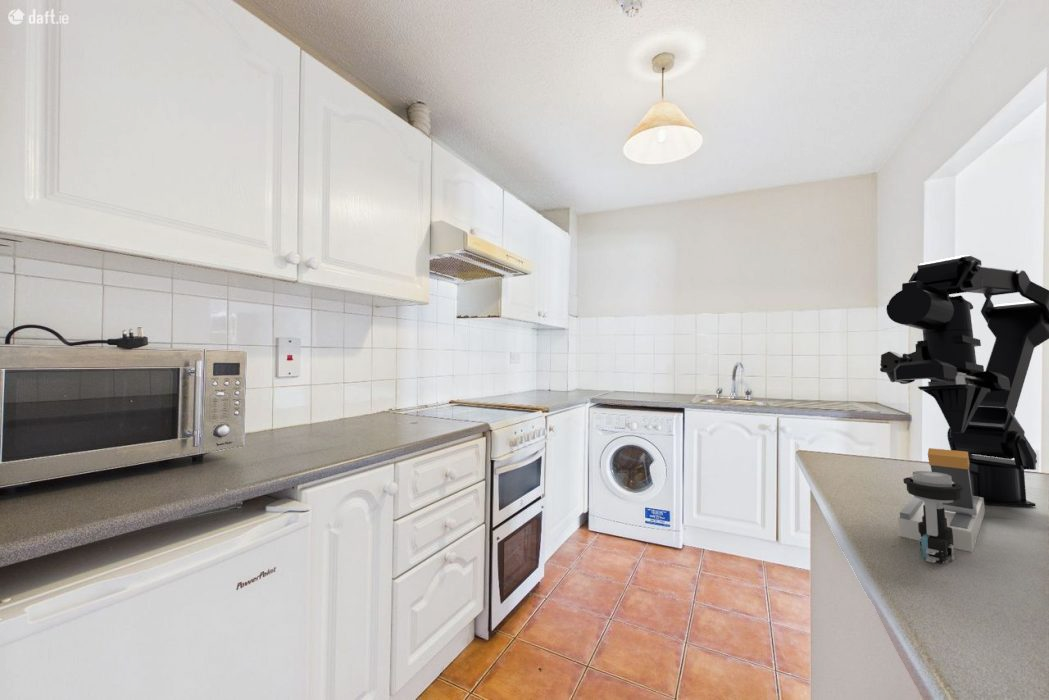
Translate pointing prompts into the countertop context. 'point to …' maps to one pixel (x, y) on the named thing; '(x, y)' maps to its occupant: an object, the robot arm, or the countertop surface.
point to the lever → (955, 477)
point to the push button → (934, 512)
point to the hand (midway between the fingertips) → (957, 432)
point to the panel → (961, 524)
